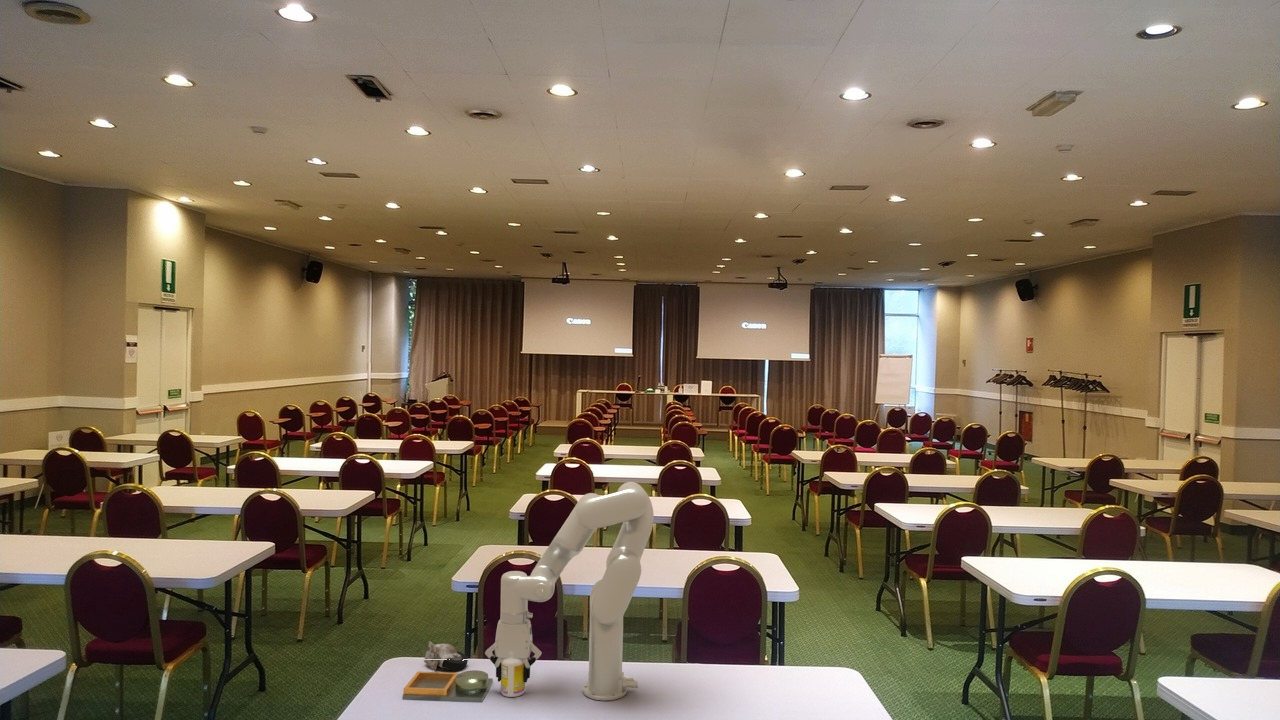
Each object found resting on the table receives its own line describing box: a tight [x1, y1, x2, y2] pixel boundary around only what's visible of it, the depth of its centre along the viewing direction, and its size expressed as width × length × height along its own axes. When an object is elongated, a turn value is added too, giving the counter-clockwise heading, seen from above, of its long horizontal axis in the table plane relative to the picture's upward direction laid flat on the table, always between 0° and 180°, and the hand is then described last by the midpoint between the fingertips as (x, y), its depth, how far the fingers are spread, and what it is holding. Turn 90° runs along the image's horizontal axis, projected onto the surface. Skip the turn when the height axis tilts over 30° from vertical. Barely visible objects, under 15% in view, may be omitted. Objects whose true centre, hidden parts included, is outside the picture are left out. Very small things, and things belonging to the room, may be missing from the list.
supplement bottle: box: [500, 651, 526, 698], centre depth 217 cm, size 7×7×13 cm
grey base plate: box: [402, 669, 494, 703], centre depth 218 cm, size 22×13×4 cm, turn 88°
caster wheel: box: [423, 640, 469, 672], centre depth 235 cm, size 7×11×10 cm
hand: (513, 679), depth 217 cm, fingers closed on supplement bottle, 6 cm apart
